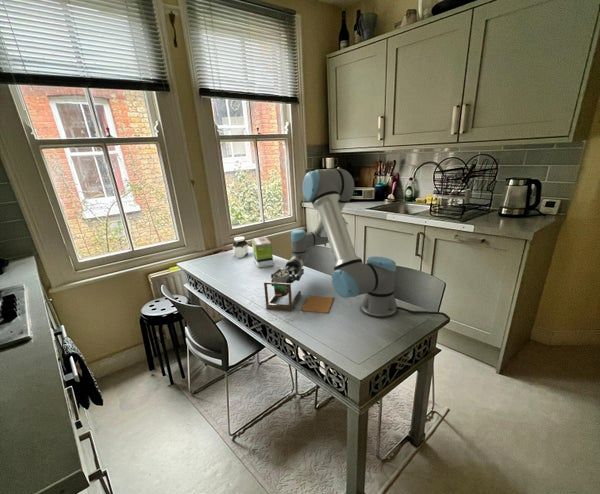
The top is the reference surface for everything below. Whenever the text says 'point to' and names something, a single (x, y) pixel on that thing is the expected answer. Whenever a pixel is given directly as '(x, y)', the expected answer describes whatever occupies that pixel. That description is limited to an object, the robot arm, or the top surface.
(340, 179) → the robot arm
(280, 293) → the food container
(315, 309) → the cork mat
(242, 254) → the spread jar
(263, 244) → the tea box
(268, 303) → the rack
